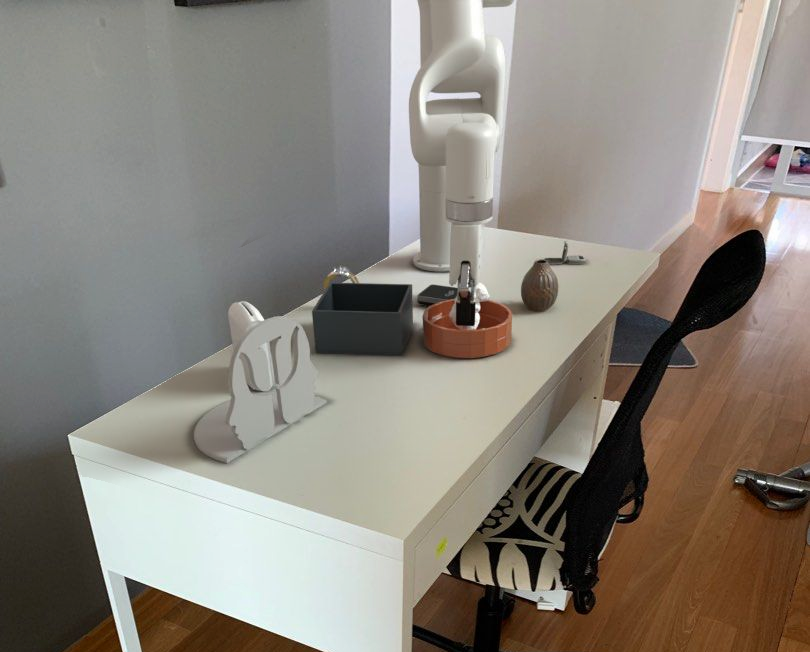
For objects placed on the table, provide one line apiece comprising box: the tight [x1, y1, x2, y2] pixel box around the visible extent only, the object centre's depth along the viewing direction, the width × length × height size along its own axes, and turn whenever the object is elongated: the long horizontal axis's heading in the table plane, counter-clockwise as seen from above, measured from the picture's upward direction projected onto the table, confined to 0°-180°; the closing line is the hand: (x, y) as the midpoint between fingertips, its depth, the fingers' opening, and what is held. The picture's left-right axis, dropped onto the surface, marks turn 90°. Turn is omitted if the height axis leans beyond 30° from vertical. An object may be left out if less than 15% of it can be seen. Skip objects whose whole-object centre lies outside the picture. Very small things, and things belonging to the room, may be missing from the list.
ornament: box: [193, 315, 328, 464], centre depth 123 cm, size 22×13×17 cm, turn 145°
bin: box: [311, 282, 414, 357], centre depth 149 cm, size 14×15×8 cm
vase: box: [520, 259, 559, 312], centre depth 159 cm, size 7×7×9 cm
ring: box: [323, 264, 360, 292], centre depth 161 cm, size 7×3×8 cm, turn 68°
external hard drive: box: [416, 284, 458, 307], centre depth 164 cm, size 7×11×2 cm, turn 64°
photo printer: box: [227, 300, 275, 391], centre depth 136 cm, size 10×4×12 cm, turn 26°
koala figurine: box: [449, 278, 491, 330], centre depth 145 cm, size 8×7×12 cm
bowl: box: [422, 299, 513, 359], centre depth 148 cm, size 15×15×5 cm
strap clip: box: [543, 240, 587, 265], centre depth 181 cm, size 8×3×4 cm, turn 87°
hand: (467, 315), depth 147 cm, fingers closed on koala figurine, 6 cm apart
